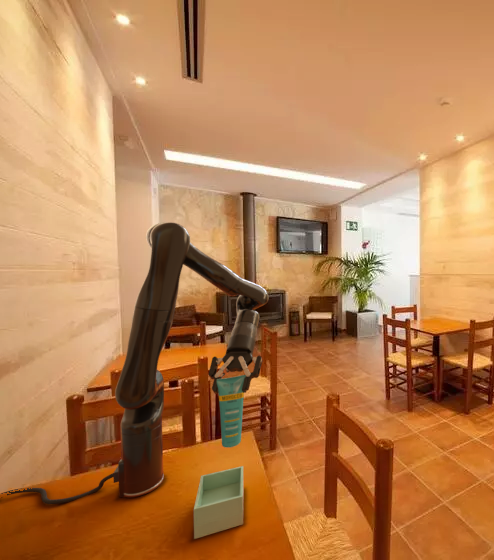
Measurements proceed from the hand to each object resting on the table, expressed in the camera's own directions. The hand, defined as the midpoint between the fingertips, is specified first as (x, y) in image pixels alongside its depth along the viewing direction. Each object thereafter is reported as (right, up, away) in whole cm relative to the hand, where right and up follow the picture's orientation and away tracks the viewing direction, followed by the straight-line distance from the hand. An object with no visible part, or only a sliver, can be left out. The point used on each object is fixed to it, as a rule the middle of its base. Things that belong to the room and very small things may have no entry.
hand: (229, 392), depth 83 cm
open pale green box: (+1, -28, -7) cm, 29 cm away
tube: (0, -16, +2) cm, 16 cm away
